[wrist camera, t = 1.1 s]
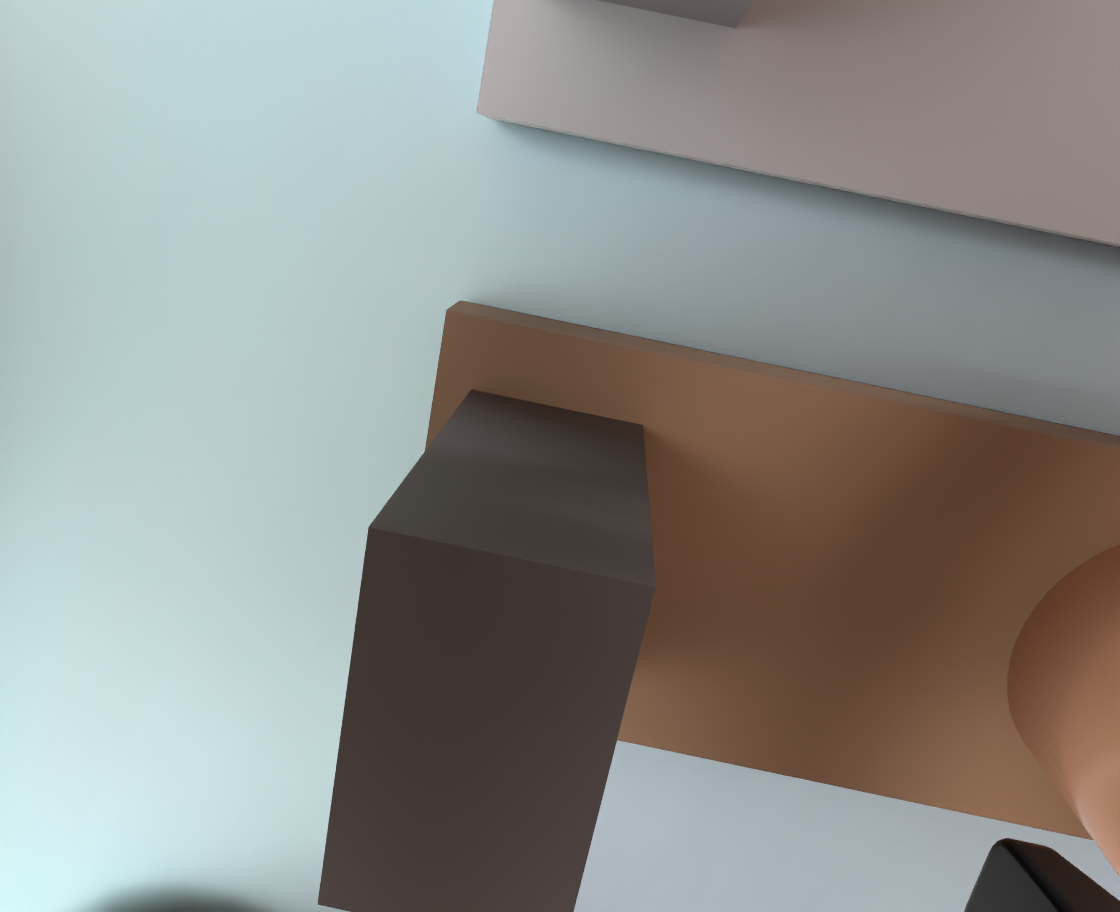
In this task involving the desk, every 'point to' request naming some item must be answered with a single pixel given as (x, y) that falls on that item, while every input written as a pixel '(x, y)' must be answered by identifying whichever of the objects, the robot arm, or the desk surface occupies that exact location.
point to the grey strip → (840, 95)
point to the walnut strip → (685, 602)
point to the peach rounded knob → (1075, 693)
